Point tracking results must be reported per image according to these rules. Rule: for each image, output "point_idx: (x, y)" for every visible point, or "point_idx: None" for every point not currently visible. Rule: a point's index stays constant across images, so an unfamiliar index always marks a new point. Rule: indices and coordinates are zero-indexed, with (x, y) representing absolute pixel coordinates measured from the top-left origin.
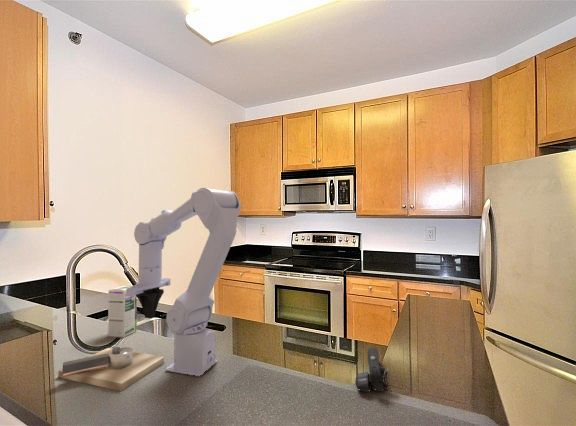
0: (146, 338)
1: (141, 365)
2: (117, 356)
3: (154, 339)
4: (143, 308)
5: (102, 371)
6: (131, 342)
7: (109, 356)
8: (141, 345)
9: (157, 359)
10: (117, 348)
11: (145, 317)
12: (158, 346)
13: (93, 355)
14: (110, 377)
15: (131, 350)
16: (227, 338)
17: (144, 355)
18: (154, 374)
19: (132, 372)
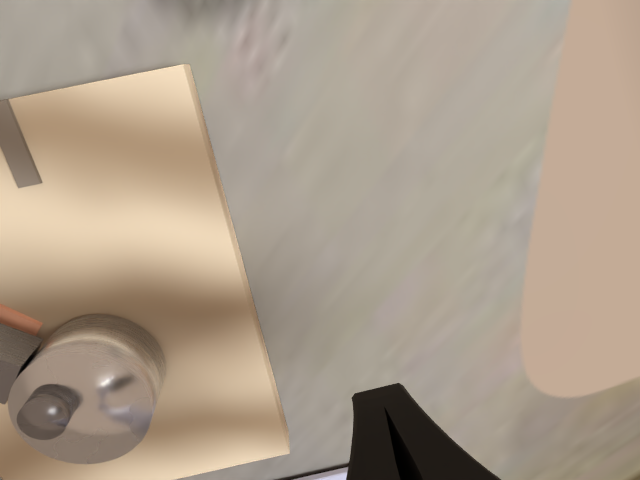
0: (491, 57)
1: (169, 445)
2: (37, 449)
3: (497, 128)
4: (355, 467)
5: None
6: (393, 24)
7: (10, 403)
8: (387, 142)
9: (253, 450)
10: (48, 427)
11: (353, 403)
12: (420, 248)
13: (55, 103)
14: (10, 438)
15: (133, 439)
16: (635, 453)
17: (247, 366)
18: (195, 477)
19: (103, 469)
